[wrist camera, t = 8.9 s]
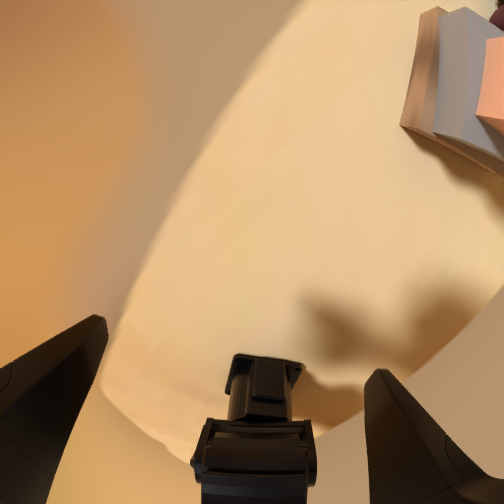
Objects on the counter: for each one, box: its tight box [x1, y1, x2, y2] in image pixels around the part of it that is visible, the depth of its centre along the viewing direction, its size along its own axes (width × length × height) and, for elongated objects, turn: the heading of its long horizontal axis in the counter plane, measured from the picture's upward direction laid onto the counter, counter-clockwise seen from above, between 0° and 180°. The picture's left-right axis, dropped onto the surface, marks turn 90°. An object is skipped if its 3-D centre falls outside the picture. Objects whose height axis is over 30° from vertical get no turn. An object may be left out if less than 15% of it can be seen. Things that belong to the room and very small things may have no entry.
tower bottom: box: [400, 6, 504, 178], centre depth 13 cm, size 9×9×3 cm
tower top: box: [432, 7, 504, 162], centre depth 10 cm, size 8×8×3 cm
